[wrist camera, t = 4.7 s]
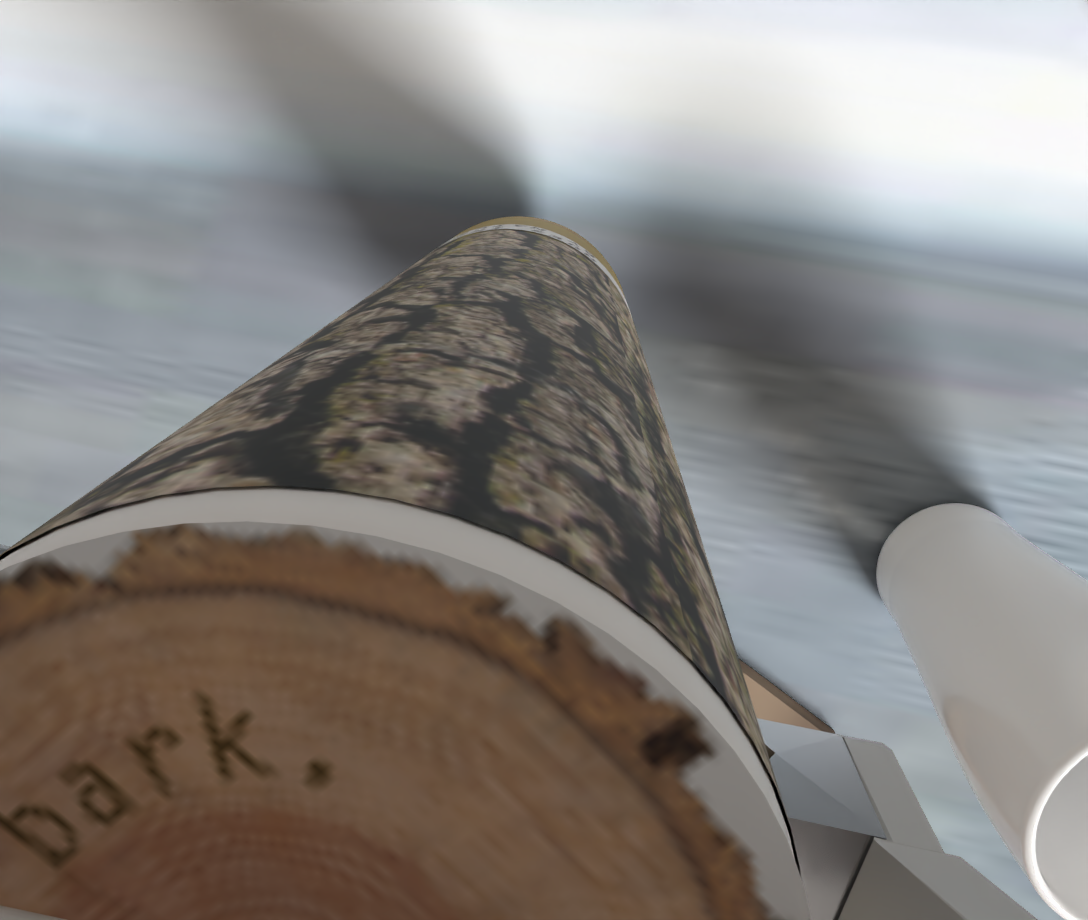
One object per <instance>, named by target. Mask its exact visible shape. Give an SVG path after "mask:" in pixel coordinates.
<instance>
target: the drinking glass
mask: <svg viewBox="0 0 1088 920" xmlns="http://www.w3.org/2000/svg"><path fill="white" fill-rule="evenodd" d="M876 580H877V586H878V590H879V594H880V596H881V599H882V601H883V603H884V605H885V607H886V608H887V610H888V612H889V613H890V615H891V616H892V618H893V619H894V621H895V623H896V625H897V627H898V629H899V631H900V633H901V635H902V637H903V639H904V642H905V644H906V646H907V648H908V650H909V653H910V655H911V657H912V659H913V661H914V664H915V666H916V668H917V670H918V673H919V675H920V677H921V679H922V682H923V684H924V686H925V688H926V691H927V693H928V695H929V697H930V700H931V702H932V704H933V706H934V709H935V711H936V713H937V716H938V718H939V720H940V722H941V725H942V727H943V729H944V732H945V734H946V736H947V738H948V741H949V743H950V745H951V747H952V750H953V752H954V754H955V756H956V758H957V760H958V763H959V765H960V767H961V769H962V771H963V773H964V775H965V777H966V779H967V781H968V783H969V785H970V786H971V788H972V790H973V792H974V794H975V796H976V797H977V799H978V801H979V803H980V804H981V806H982V808H983V810H984V811H985V813H986V815H987V817H988V818H989V820H990V822H991V823H992V825H993V827H994V828H995V830H996V831H997V833H998V835H999V836H1000V838H1001V839H1002V841H1003V842H1004V844H1005V846H1006V847H1007V849H1008V850H1009V852H1010V853H1011V855H1012V856H1013V857H1014V859H1015V860H1016V862H1017V863H1018V865H1019V866H1020V868H1021V869H1022V871H1023V872H1024V873H1025V875H1026V876H1027V878H1028V879H1029V881H1030V882H1031V884H1032V885H1033V887H1034V889H1035V890H1036V891H1037V893H1038V894H1039V896H1040V897H1041V898H1042V899H1043V900H1044V901H1045V903H1046V904H1047V905H1048V906H1049V907H1050V908H1051V909H1053V910H1054V911H1055V912H1056V913H1057V914H1058V915H1060V916H1061V917H1062V918H1064V919H1065V920H1088V580H1087V579H1085V578H1084V577H1082V576H1081V575H1079V574H1078V573H1076V572H1075V571H1073V570H1072V569H1070V568H1069V567H1067V566H1066V565H1064V564H1063V563H1061V562H1060V561H1058V560H1057V559H1055V558H1054V557H1052V556H1051V555H1049V554H1048V553H1046V552H1045V551H1043V550H1042V549H1040V548H1039V547H1037V546H1036V545H1035V544H1033V543H1032V542H1030V541H1029V540H1027V539H1026V538H1024V537H1023V536H1022V535H1020V534H1019V533H1018V532H1017V531H1016V530H1015V529H1014V528H1012V527H1011V526H1010V525H1009V524H1008V523H1007V522H1006V521H1004V520H1003V519H1002V518H1000V517H999V516H998V515H996V514H994V513H993V512H991V511H988V510H986V509H984V508H981V507H978V506H974V505H970V504H963V503H947V504H940V505H935V506H932V507H928V508H926V509H923V510H921V511H919V512H917V513H915V514H913V515H911V516H910V517H908V518H907V519H905V520H904V521H903V522H902V523H900V524H899V525H898V526H897V527H896V528H895V529H894V530H893V531H892V533H891V534H890V535H889V537H888V538H887V540H886V541H885V543H884V545H883V547H882V549H881V552H880V554H879V558H878V562H877V568H876Z"/></svg>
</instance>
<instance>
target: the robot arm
mask: <svg viewBox="0 0 1088 920" xmlns="http://www.w3.org/2000/svg"><path fill="white" fill-rule="evenodd" d="M9 548H10V546H5V545H1V544H0V554H2V553H3V552H5V551H6V550H7V549H9ZM757 720H758V724H759V727H760V730H761V733H762V736H763V740H764V743H765V746H766V749H767V752H768V756H769V759H770V762H771V765H772V769H773V772H774V775H775V778H776V781H777V785H778V788H779V791H780V794H781V797H782V801H783V804H784V807H785V810H786V813H787V817H788V820H789V823H790V826H791V830H792V835H793V839H794V844H795V848H796V853H797V857H798V862H799V866H800V871H801V879H802V882H803V884H804V889H805V893H806V898H807V902H808V907H809V911H810V916H811V920H1038V919H1036V918H1035V917H1034V916H1033V915H1031V914H1030V913H1029V912H1028V911H1026V910H1025V909H1024V908H1023V907H1021V906H1020V905H1019V904H1018V903H1017V902H1015V901H1014V900H1013V899H1012V898H1010V897H1009V896H1008V895H1007V894H1005V893H1004V892H1003V891H1002V890H1001V889H999V888H998V887H997V886H996V885H994V884H993V883H992V882H991V881H989V880H988V879H987V878H986V877H984V876H983V875H982V874H981V873H980V872H978V871H977V870H976V869H975V868H973V867H972V866H971V865H970V864H968V863H967V862H966V861H965V860H963V859H962V858H961V857H959V856H954V855H950V854H946V853H944V851H943V849H942V847H941V845H940V843H939V841H938V839H937V837H936V835H935V833H934V831H933V829H932V827H931V826H930V824H929V822H928V820H927V818H926V816H925V814H924V812H923V810H922V808H921V806H920V804H919V802H918V800H917V798H916V796H915V794H914V792H913V790H912V788H911V786H910V784H909V783H908V781H907V779H906V777H905V775H904V773H903V771H902V769H901V767H900V765H899V763H898V761H897V759H896V757H895V755H894V753H893V751H892V750H891V749H890V748H889V747H887V746H886V745H885V744H883V743H881V742H876V741H870V740H865V739H859V738H854V737H848V736H843V735H838V734H833V733H828V732H823V731H818V730H813V729H808V728H803V727H798V726H793V725H788V724H783V723H778V722H773V721H768V720H763V719H759V718H757ZM0 920H67V919H62V918H57V917H53V916H48V915H43V914H38V913H34V912H29V911H24V910H20V909H15V908H10V907H5V906H1V905H0Z"/></svg>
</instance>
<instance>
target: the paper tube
mask: <svg viewBox="0 0 1088 920" xmlns="http://www.w3.org/2000/svg"><path fill="white" fill-rule="evenodd" d="M629 311H630V310H629V307H628V304H627V302H626V300H625V296H624V293H623V291H622V288H621V285H620V283H619V281H618V279H617V277H616V274H615V273H614V271H613V270H612V268H611V266H610V265H609V263H608V262H607V261H606V259H605V258H604V257H603V256H602V254H601V253H600V252H599V251H598V250H597V249H596V248H595V247H594V246H593V245H592V244H590V243H589V242H588V241H587V240H586V239H584V238H583V237H581V236H580V235H578V234H577V233H575V232H574V231H572V230H570V229H568V228H566V227H564V226H562V225H559V224H557V223H554V222H551V221H547V220H544V219H539V218H533V217H522V216H515V217H503V218H496V219H492V220H488V221H485V222H482V223H479V224H477V225H474V226H472V227H470V228H468V229H466V230H464V231H462V232H461V233H459V234H458V235H456V236H455V237H453V238H452V239H450V240H449V241H447V242H445V243H444V244H442V245H441V246H439V248H436V249H435V250H433V251H432V252H431V253H429V254H428V255H426V256H425V257H423V258H422V259H421V260H419V261H418V262H416V263H415V264H413V265H412V266H411V267H409V268H408V269H406V270H405V271H404V272H402V273H401V274H399V275H398V276H396V277H395V278H394V279H392V280H391V281H389V282H388V283H386V284H385V285H384V286H382V287H381V288H379V289H378V290H376V291H375V292H374V293H372V294H371V295H369V296H368V297H366V298H365V299H364V300H362V301H361V302H359V303H358V304H357V305H355V306H354V307H352V308H351V309H349V310H348V311H347V312H345V313H344V314H342V315H341V316H339V317H338V318H337V319H335V320H334V321H332V322H331V323H329V324H328V325H327V326H325V327H324V328H322V329H321V330H319V331H318V332H317V333H315V334H314V335H312V336H311V337H309V338H308V339H307V340H305V341H304V342H302V343H301V344H300V345H298V346H297V347H295V348H294V349H292V350H291V351H290V352H288V353H287V354H285V355H284V356H282V357H281V358H280V359H278V360H277V361H275V362H274V363H272V364H271V365H270V366H268V367H267V368H265V369H264V370H262V371H261V372H260V373H258V374H257V375H255V376H254V377H253V378H251V379H250V380H248V381H247V382H245V383H244V384H243V385H241V386H240V387H238V388H237V389H235V390H234V391H233V392H231V393H230V394H228V395H227V396H225V397H224V398H223V399H221V400H220V401H218V402H217V403H215V404H214V405H213V406H211V407H210V408H208V409H207V410H205V411H204V412H203V413H201V414H200V415H198V416H197V417H196V418H194V419H193V420H191V421H190V422H188V423H187V424H186V425H184V426H183V427H181V428H180V429H178V430H177V431H176V432H174V433H173V434H171V435H170V436H168V437H167V438H166V439H164V440H163V441H161V442H160V443H158V444H157V445H156V446H154V447H153V448H151V449H150V450H149V451H147V452H146V453H144V454H143V455H141V456H140V457H139V458H137V459H136V460H134V461H133V462H131V463H130V464H129V465H127V466H126V467H124V468H123V469H121V470H120V471H119V472H117V473H116V474H114V475H113V476H111V477H110V478H109V479H107V480H106V481H104V482H103V483H101V484H100V485H99V486H97V487H96V488H94V489H93V490H92V491H90V492H89V493H87V494H86V495H84V496H83V497H82V498H80V499H79V500H77V501H76V502H74V503H73V504H72V505H70V506H69V507H67V508H66V509H64V510H63V511H62V512H60V513H59V514H57V515H56V516H54V517H53V518H52V519H50V520H49V521H47V522H46V523H45V524H43V525H42V526H40V527H39V528H37V529H36V530H35V531H33V532H32V533H30V534H29V535H27V536H26V537H25V538H23V539H22V540H20V541H19V542H17V543H16V544H15V545H13V546H12V547H10V548H9V549H7V550H6V551H5V552H3V553H2V554H0V905H1V906H5V907H10V908H15V909H20V910H24V911H29V912H34V913H38V914H43V915H48V916H53V917H57V918H62V919H67V920H811V916H810V911H809V907H808V902H807V898H806V893H805V889H804V884H803V882H802V879H801V871H800V866H799V862H798V857H797V853H796V848H795V844H794V839H793V835H792V830H791V826H790V823H789V820H788V817H787V813H786V810H785V807H784V804H783V801H782V797H781V794H780V791H779V788H778V785H777V781H776V778H775V775H774V772H773V769H772V765H771V762H770V759H769V756H768V752H767V749H766V746H765V743H764V740H763V736H762V733H761V730H760V727H759V724H758V720H757V717H756V714H755V711H754V708H753V704H752V701H751V698H750V695H749V691H748V688H747V685H746V682H745V679H744V675H743V672H742V669H741V666H740V663H739V659H738V656H737V653H736V650H735V647H734V643H733V640H732V637H731V634H730V631H729V627H728V624H727V621H726V618H725V614H724V611H723V608H722V605H721V602H720V598H719V595H718V592H717V589H716V586H715V582H714V579H713V576H712V573H711V570H710V566H709V563H708V560H707V557H706V553H705V550H704V547H703V544H702V541H701V537H700V534H699V531H698V528H697V525H696V521H695V518H694V515H693V512H692V509H691V505H690V502H689V499H688V496H687V492H686V489H685V486H684V483H683V480H682V476H681V473H680V470H679V467H678V464H677V460H676V457H675V454H674V451H673V448H672V444H671V441H670V438H669V435H668V432H667V428H666V425H665V422H664V419H663V415H662V412H661V409H660V406H659V403H658V399H657V396H656V393H655V390H654V387H653V383H652V380H651V377H650V374H649V371H648V367H647V364H646V361H645V358H644V354H643V351H642V348H641V345H640V342H639V338H638V335H637V332H636V329H635V326H634V322H633V319H632V316H631V313H630V312H629Z"/></svg>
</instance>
